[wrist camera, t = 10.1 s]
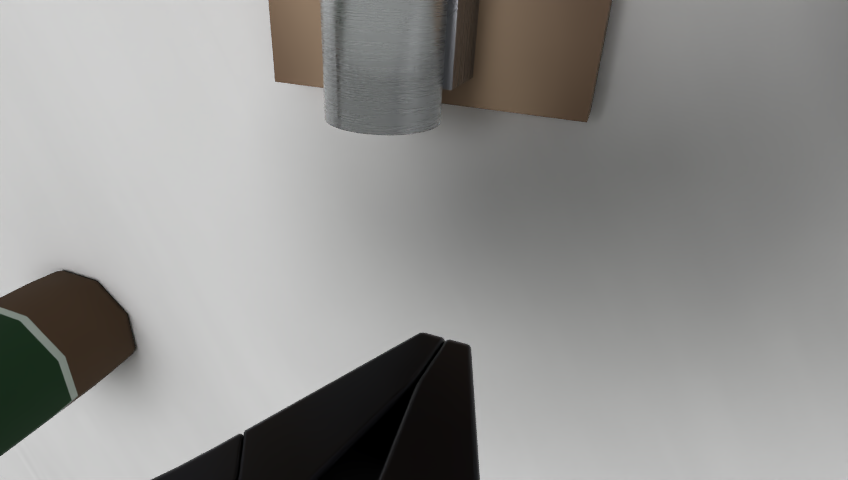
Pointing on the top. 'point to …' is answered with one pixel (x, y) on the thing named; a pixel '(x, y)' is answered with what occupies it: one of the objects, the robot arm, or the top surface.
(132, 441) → the top surface
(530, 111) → the valve base
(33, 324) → the beer bottle
